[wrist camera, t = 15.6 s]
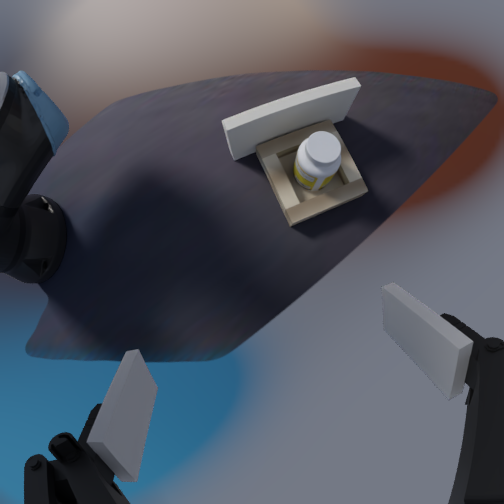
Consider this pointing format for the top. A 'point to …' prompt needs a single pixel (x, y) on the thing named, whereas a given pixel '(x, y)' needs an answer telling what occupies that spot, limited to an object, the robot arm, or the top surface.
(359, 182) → the birch socket block
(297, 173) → the supplement bottle
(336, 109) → the white backstop wall
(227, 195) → the top surface
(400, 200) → the top surface
